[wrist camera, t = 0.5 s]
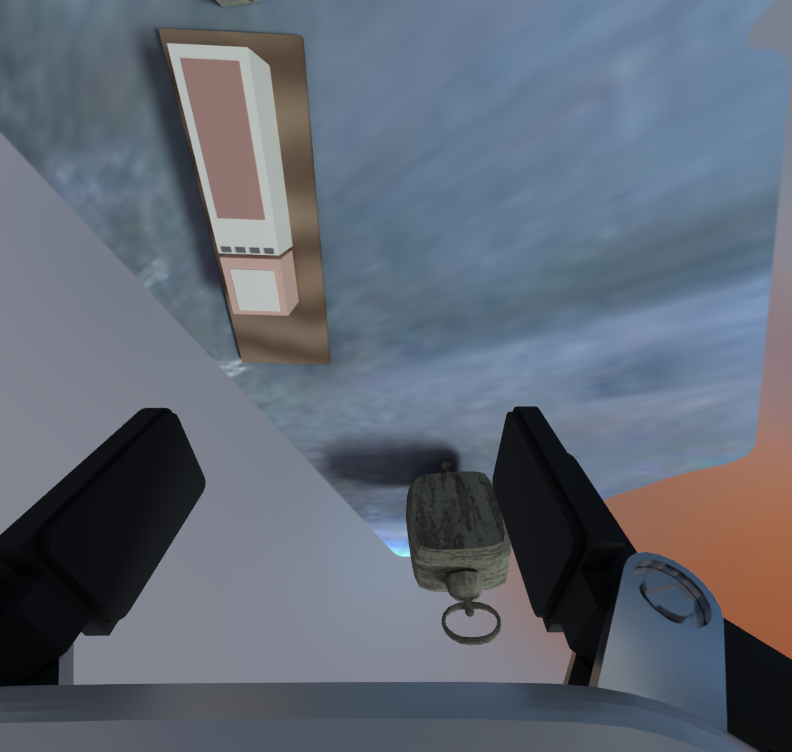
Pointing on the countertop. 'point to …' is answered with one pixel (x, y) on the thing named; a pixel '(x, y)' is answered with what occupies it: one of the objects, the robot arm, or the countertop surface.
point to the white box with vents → (235, 145)
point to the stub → (261, 283)
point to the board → (307, 322)
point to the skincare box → (235, 2)
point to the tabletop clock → (458, 540)
